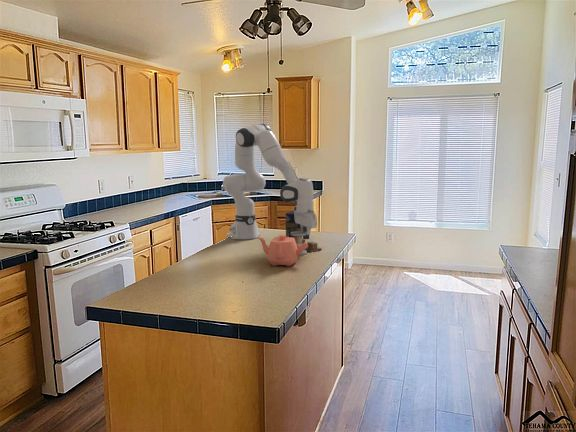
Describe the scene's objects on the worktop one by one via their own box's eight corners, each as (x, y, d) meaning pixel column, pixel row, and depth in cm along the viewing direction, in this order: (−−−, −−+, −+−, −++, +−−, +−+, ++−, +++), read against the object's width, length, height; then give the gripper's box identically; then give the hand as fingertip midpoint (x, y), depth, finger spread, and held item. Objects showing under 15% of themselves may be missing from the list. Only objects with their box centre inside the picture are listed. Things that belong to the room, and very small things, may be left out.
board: (291, 246, 253) (291, 239, 252) (301, 244, 257) (301, 237, 256) (311, 252, 238) (310, 244, 238) (321, 250, 242) (321, 242, 241)
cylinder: (302, 239, 245) (301, 224, 244) (303, 237, 248) (303, 223, 247) (308, 239, 244) (308, 224, 243) (309, 237, 248) (309, 223, 246)
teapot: (277, 271, 205) (276, 241, 203) (257, 262, 220) (256, 234, 218) (309, 264, 215) (309, 235, 213) (288, 256, 230) (287, 230, 228)
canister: (283, 240, 268) (282, 210, 265) (297, 238, 272) (297, 208, 269) (290, 243, 260) (289, 212, 257) (304, 241, 264) (304, 211, 261)
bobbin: (287, 253, 237) (287, 232, 236) (300, 250, 242) (300, 230, 240) (296, 256, 231) (296, 235, 229) (310, 253, 235) (309, 232, 233)
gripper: (319, 210, 236) (320, 236, 238) (302, 205, 254) (302, 230, 256) (309, 211, 233) (309, 237, 235) (292, 206, 251) (292, 231, 254)
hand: (305, 233), depth 246 cm, fingers closed on cylinder, 4 cm apart
